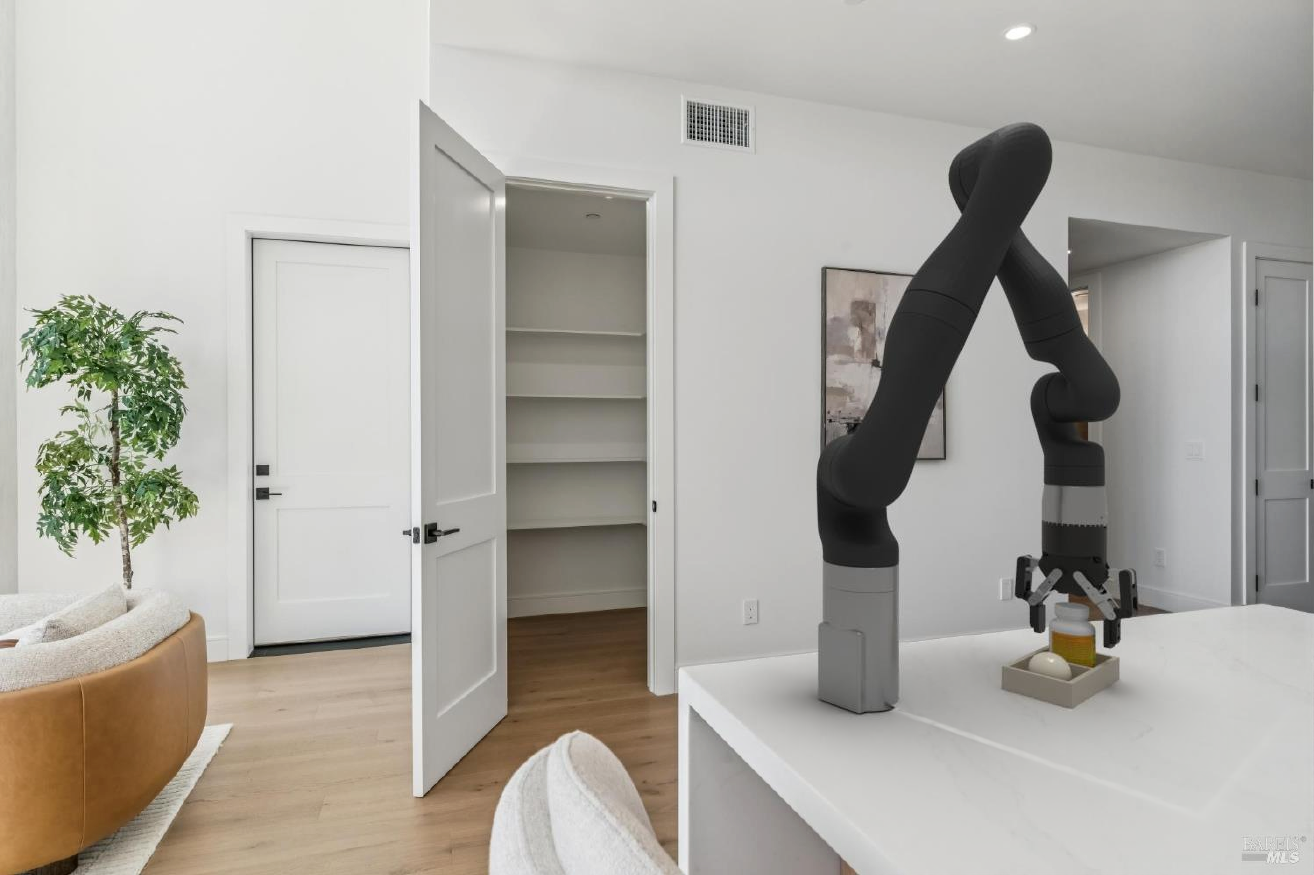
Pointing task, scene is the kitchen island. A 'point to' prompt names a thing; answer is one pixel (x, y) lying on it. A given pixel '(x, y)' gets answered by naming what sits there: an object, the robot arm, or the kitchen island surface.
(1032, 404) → the robot arm
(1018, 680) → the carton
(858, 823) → the kitchen island surface
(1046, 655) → the egg
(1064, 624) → the supplement bottle
